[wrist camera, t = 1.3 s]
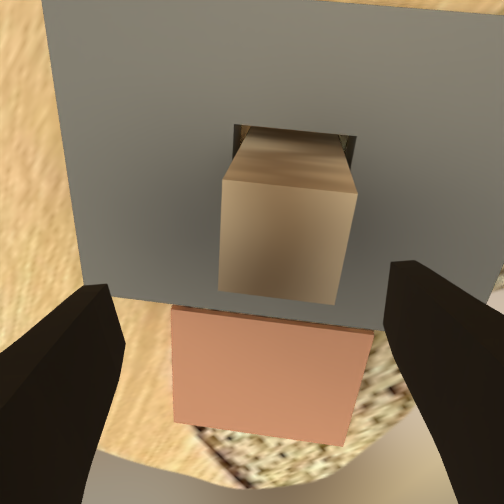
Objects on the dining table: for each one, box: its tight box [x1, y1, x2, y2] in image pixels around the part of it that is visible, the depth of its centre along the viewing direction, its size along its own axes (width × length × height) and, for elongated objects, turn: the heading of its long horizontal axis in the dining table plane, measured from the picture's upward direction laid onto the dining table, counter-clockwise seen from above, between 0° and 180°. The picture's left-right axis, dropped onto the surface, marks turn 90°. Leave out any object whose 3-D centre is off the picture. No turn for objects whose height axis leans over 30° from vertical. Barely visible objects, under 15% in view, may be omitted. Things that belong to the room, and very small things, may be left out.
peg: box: [218, 126, 358, 305], centre depth 16 cm, size 4×4×8 cm
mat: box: [171, 305, 374, 447], centre depth 27 cm, size 12×10×1 cm
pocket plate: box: [41, 0, 504, 331], centre depth 19 cm, size 20×14×2 cm
